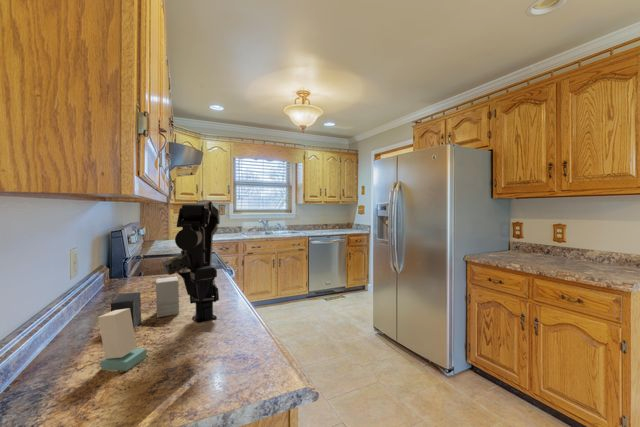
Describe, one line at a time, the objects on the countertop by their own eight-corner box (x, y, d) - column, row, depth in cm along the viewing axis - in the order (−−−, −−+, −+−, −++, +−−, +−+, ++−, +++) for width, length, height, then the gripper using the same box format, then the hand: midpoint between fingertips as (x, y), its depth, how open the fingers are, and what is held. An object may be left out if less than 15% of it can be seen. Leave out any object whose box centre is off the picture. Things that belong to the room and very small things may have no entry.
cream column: (121, 349, 74) (114, 310, 74) (136, 348, 73) (129, 308, 73) (105, 359, 69) (98, 316, 69) (121, 357, 68) (114, 314, 68)
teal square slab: (122, 355, 75) (122, 347, 75) (146, 356, 74) (146, 349, 74) (100, 369, 69) (100, 360, 69) (126, 370, 68) (126, 362, 68)
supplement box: (178, 308, 115) (177, 276, 115) (179, 314, 108) (178, 280, 108) (156, 311, 112) (156, 278, 111) (156, 317, 105) (155, 282, 105)
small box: (119, 324, 99) (119, 293, 99) (141, 321, 102) (141, 291, 101) (109, 337, 89) (109, 302, 89) (134, 333, 92) (134, 300, 92)
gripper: (156, 245, 90) (156, 296, 90) (175, 251, 76) (175, 312, 76) (194, 242, 97) (194, 289, 97) (217, 247, 83) (217, 303, 83)
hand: (195, 297), depth 88 cm, fingers open, 9 cm apart
